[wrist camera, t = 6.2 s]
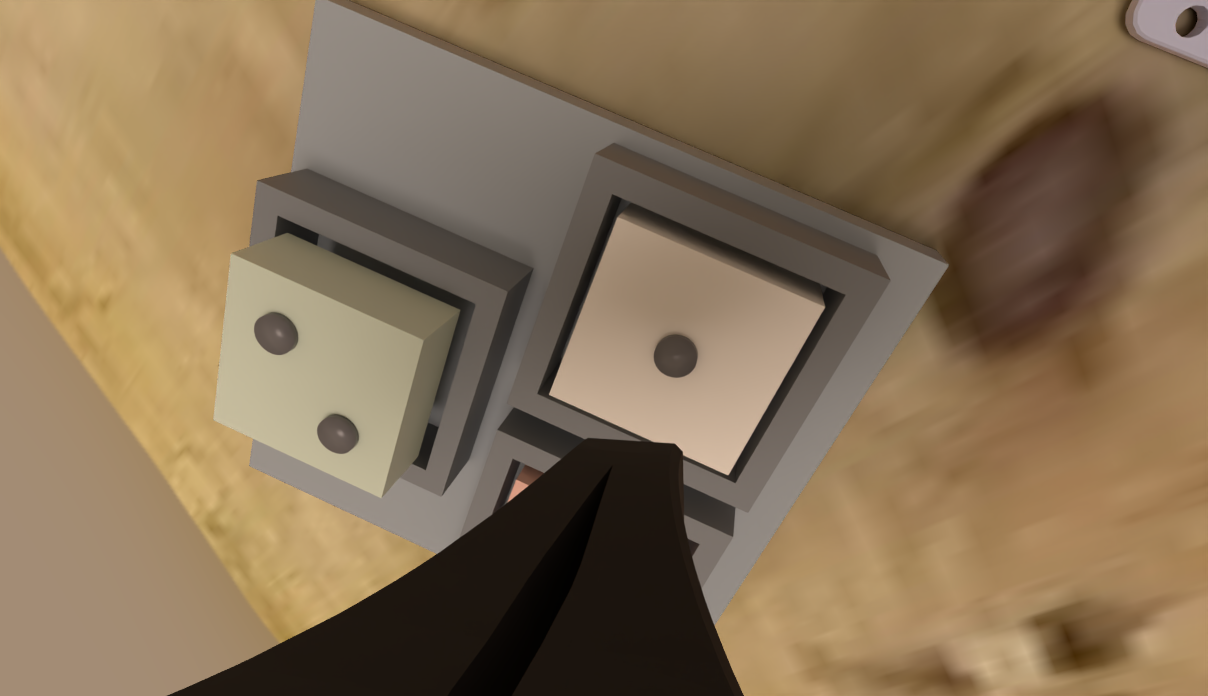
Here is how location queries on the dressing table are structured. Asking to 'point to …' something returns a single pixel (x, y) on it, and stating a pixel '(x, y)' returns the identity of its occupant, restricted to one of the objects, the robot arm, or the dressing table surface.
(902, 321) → the stacking puzzle board
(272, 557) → the dressing table surface
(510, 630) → the robot arm
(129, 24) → the dressing table surface
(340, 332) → the tile sage
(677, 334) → the tile ivory
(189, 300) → the dressing table surface
